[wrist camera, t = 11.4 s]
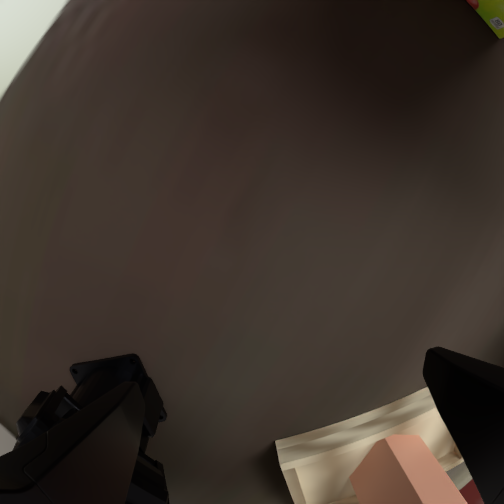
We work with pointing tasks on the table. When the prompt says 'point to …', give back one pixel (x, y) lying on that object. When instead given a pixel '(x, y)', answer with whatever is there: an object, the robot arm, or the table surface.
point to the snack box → (491, 14)
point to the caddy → (403, 474)
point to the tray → (359, 448)
